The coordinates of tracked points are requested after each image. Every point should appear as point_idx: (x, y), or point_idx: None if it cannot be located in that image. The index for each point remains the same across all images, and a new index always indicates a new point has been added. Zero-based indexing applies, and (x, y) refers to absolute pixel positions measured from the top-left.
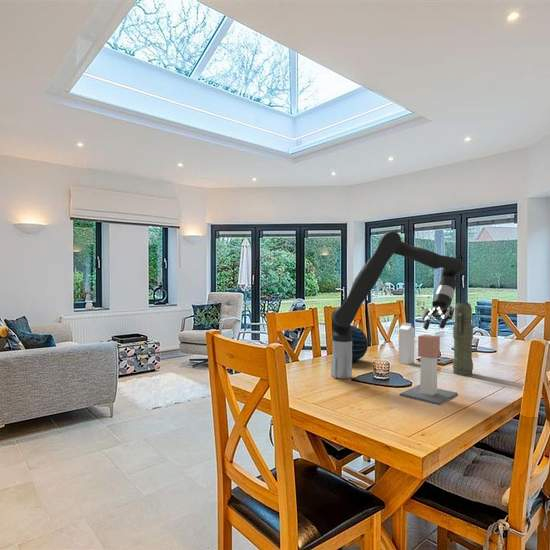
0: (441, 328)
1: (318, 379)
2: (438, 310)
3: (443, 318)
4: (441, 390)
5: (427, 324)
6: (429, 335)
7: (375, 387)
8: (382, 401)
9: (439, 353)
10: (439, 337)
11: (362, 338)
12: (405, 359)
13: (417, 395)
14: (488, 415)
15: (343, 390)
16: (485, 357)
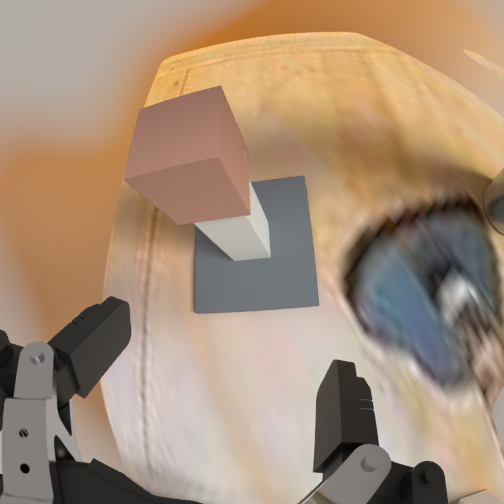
0: (130, 330)
1: (494, 148)
2: (44, 501)
3: (43, 346)
4: (236, 297)
5: (325, 421)
6: (181, 154)
7: (392, 189)
8: (301, 120)
9: (172, 218)
10: (127, 178)
11: None
12: (472, 501)
13: (261, 197)
14: (114, 219)
15: (407, 119)
16: None
